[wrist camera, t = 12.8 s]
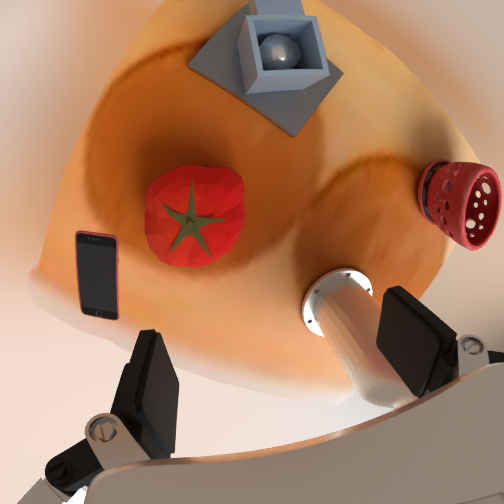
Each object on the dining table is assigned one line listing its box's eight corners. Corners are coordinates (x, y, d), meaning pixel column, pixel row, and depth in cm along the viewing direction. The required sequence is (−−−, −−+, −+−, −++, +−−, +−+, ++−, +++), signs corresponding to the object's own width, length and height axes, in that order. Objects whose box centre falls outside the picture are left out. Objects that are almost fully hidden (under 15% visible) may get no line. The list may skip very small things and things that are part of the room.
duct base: (338, 75, 30) (362, 64, 24) (290, 137, 32) (308, 134, 26) (244, 9, 24) (252, -15, 18) (188, 68, 27) (184, 51, 21)
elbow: (286, 15, 24) (306, -13, 17) (303, 89, 29) (329, 74, 21) (231, 16, 24) (239, -15, 16) (245, 94, 28) (257, 77, 21)
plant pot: (398, 194, 37) (452, 213, 26) (435, 141, 35) (488, 147, 24) (430, 242, 42) (475, 267, 31) (462, 192, 40) (508, 207, 29)
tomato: (261, 198, 35) (282, 218, 25) (193, 265, 36) (190, 306, 27) (199, 136, 31) (196, 130, 21) (131, 210, 32) (104, 234, 23)
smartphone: (80, 314, 36) (74, 230, 31) (82, 312, 37) (76, 229, 32) (119, 322, 38) (118, 236, 33) (120, 319, 38) (119, 235, 34)
